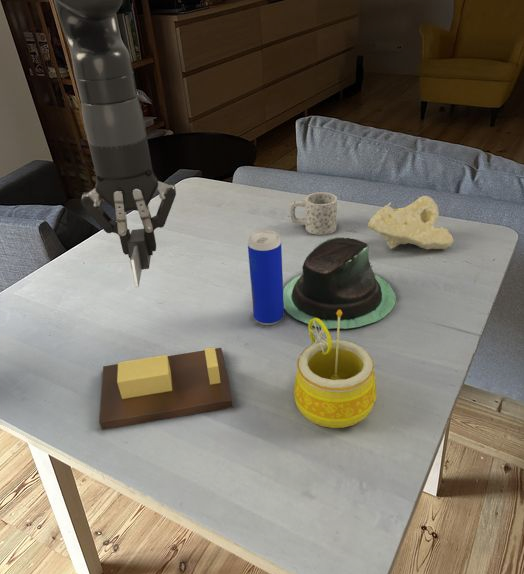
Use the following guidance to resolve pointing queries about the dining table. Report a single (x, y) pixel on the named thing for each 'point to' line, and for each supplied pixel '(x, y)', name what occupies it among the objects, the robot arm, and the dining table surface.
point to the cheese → (412, 225)
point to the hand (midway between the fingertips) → (141, 253)
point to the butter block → (144, 376)
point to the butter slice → (212, 365)
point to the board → (167, 393)
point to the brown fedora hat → (339, 287)
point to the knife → (138, 254)
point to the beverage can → (266, 276)
